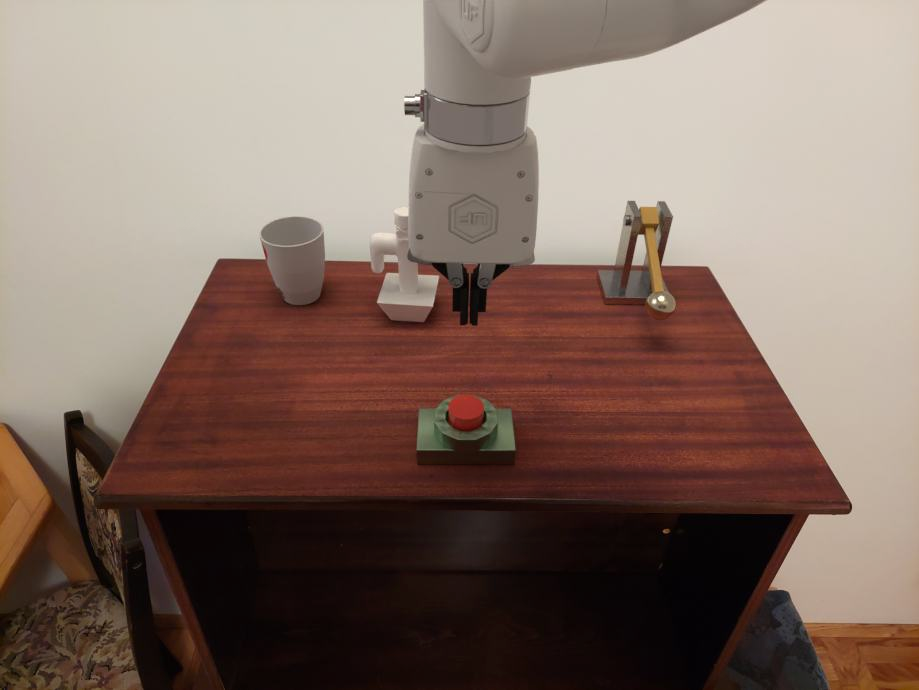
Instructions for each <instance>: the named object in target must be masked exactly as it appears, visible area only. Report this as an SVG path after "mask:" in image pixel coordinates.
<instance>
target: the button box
mask: <svg viewBox="0 0 919 690" xmlns="http://www.w3.org/2000/svg"><path fill="white" fill-rule="evenodd" d="M459 395H460V394H456V395H453V396H450V397H448V398H446V399H443V400H441V402H440V403H439V404H438V405H437V406H436V408H432V407H431V408H430V407H428V408H427V407H426V408H424V407H423V408H421V407H420V408H418V414H417V430H416V431H417V432H416V433H417V434H416V437H417V438H416V449H415V450H416V465H515V462H516V453H517V447H516V438H515V428H514V418H513V410H512V408H496V407H495V406H494V405H493V404H492V403H491V402H490V401H489V400H488V399H485V398H483V397H480V396H479V395H475V394H472V395H473V396H475V397H477V398H479V399H480V400H481V401H482V402H483V404H484V419H483V423H482V425H481V426H480V427H479V428H477V429H476V430H473V431H460V430H457V429H455V428H454V427H452V426H451V424H450V423H449V419H448V407H449V403H450V401H451V400H452V399H453V398H455V397H457V396H459Z"/></svg>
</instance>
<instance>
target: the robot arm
mask: <svg viewBox="0 0 919 690" xmlns="http://www.w3.org/2000/svg"><path fill="white" fill-rule="evenodd" d="M767 1H768V0H422V11H423V12H422V15H423V17H422V18H423V83H424V84H423V86H424V89H420V92H419V93H415V94H414V95H404V99H403V102H404V103H403V107H404V109H403V111H404V116H414V117H415V118H419V119H420V123H422V124H420V125H419V126H418V128H417V129H416V132H415V134H414V138H413V143H412V148H411V154H410V163H409V177H408V180H409V181H408V205H407V207H408V233H409V247H408V253H407V258H408V260H409V261H411V262H415V263H418V264H420V265H424V266H432V267H433V268H434V269H435V270H436V271H437V272H438V273H440V275H442V276H443V277H444V278H445V279H446V280H447V281H448V283H449V286H450V287H452V303H451V304H452V305H451V306H452V309H451V310H452V313H459V326H467V325H468V324H469V325H471V326H474V327H475V326H476V327H477V326H479V325H478V323H479V313H486V312H487V300H488V299H487V298H488V289H489V288H490V287H491V285H492V282H493V281H494V280H495V279H497V278H498V277H499V276H501V275H502V274H503V273H505V272H506V271H507V270H508V269H509V268H518V267H523V266H528V265H532V264H533V263H535V260H536V256H535V247H536V239H537V230H538V229H537V228H538V212H539V188H540V163H539V147H538V142H537V141H538V140H537V136H536V135H535V133H534V131H533V129H532V128H531V127H529V126H528V121H529V120H528V119H529V109H530V97H531V85H532V77H539V76H544V75H550V74H554V73H560V72H566V71H570V70H574V69H578V68H585V67H591V66H596V65H601V64H608V63H612V62H620V61H625V60H633V59H637V58H641V57H645V56H649V55H652V54H655V53H657V52H661V51H664V50H665V49H668V48H671V47H673V46H675V45H677V44H680V43H683V42H684V41H686V40H689V39H691V38H694V37H696V36H698V35H700V34H703V33H704V32H707V31H709V30H711V29H713V28H715V27H717V26H719V25H722V24H724V23H726V22H728V21H731V20H734V19H735V18H737V17H739V16H741V15H743V14H745V13H747V12H749V11H751V10H753V9H754V8H756V7H758V6H760V5H762V4H764V3H765V2H767ZM465 264H470V265H471V264H472V265H473V264H474V265H476V267H474V268H473V269H472V272H468V269H467V268H466V267H465V266H464V265H465Z"/></svg>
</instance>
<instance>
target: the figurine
mask: <svg viewBox="0 0 919 690" xmlns="http://www.w3.org/2000/svg"><path fill="white" fill-rule="evenodd" d="M393 213H394V215H393V217H394V225H395V233H394V232H375V233H373V234H372V235H371V236H370V239H369V254H370V267H371V271H372V272H373V273H374V274H381V273H382V272H383V271H384V269H385V256H396V257H397V268H398V269H397V271H398V272H386V273H385V276H384V279H383V282H382V285H381V289H380V292H379V294H378V297H377V300H376V304H377V306H378V307H379V308H380V309H381V310H382V311H383V312H384V313H385V314H386V316H387V317H388V318H389V319H390V321H397V322H398V321H399V322H413V323H415V322H416V323H425V321H426V319H427V318H428V316H429V315H430V313H431V311H432V309H433V308H434V303H435V299H436V294H437V290H438V285H439V280H440V275H433V274H419V267H418V266H419V265H418V264H419V263H415V262H411V261H409V260H408V258H407V253H408V247H409V233H408V206H401V207H397V208H396V209H394V211H393Z"/></svg>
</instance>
